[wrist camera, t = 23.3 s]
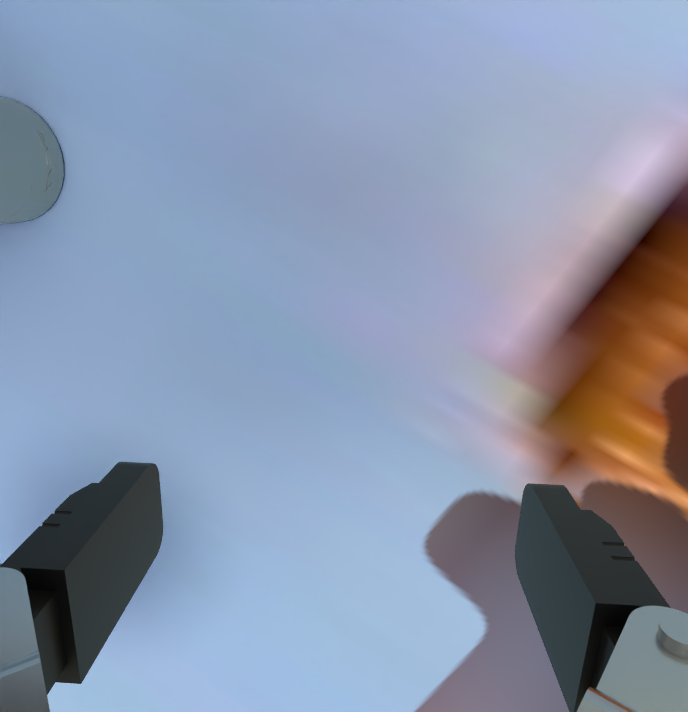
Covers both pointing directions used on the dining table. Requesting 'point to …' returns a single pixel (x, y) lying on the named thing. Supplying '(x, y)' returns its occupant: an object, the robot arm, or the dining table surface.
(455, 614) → the dining table surface
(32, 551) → the robot arm
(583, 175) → the dining table surface
